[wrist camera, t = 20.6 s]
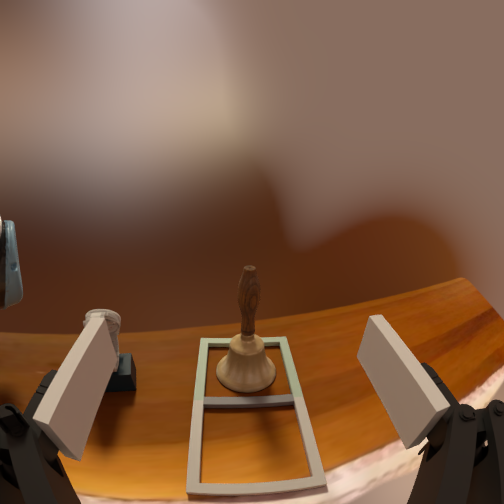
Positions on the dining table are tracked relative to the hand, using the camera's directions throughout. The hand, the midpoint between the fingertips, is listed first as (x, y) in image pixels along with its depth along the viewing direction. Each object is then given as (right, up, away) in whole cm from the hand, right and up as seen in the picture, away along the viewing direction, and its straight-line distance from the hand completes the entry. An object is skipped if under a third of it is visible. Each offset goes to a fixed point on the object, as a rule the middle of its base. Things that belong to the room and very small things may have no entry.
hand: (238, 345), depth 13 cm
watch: (-18, -13, +19) cm, 29 cm away
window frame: (0, -14, +17) cm, 23 cm away
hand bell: (0, -12, +23) cm, 26 cm away
